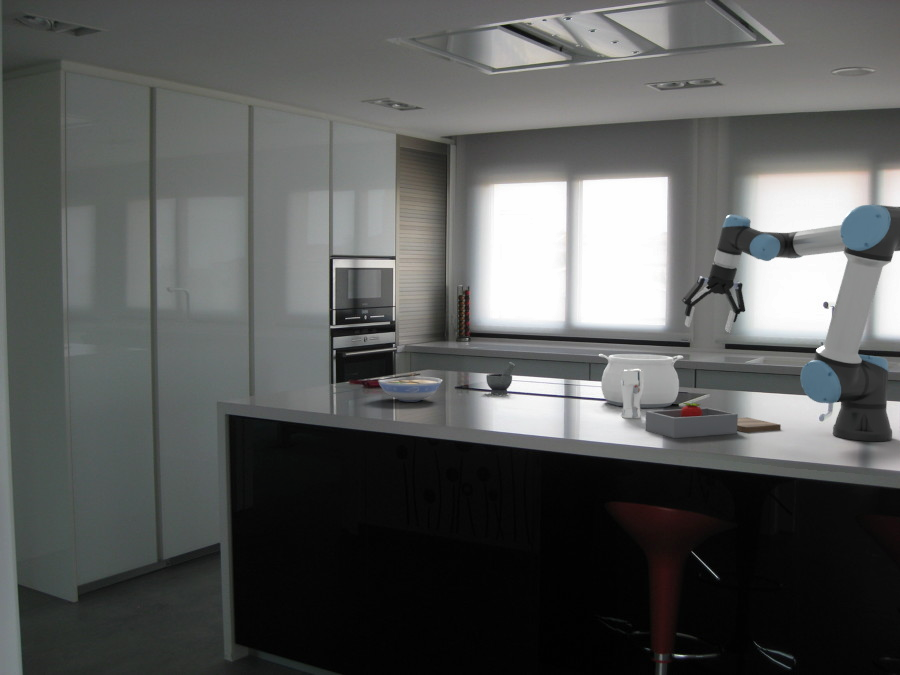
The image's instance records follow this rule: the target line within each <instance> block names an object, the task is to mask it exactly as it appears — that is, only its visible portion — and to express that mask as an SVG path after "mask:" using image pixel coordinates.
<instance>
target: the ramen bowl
mask: <svg viewBox="0 0 900 675" xmlns="http://www.w3.org/2000/svg"><path fill="white" fill-rule="evenodd" d="M371 381H372V382H378V384H379V386H380V388H381V389H382V390H383V392H384V393H386V395H388V396H390V397H392V398H395V399H397V400H398V401H400V402H403V403H416V402H421V401H422V400H424V399H426V398H429V397H431V396H433V395H434V394H435V393H436V391H438V389H439V388H440V386H441V384H442V382H443V379H441V378H439V377H438V378H437V377H431V376H421V373H419V372H418V373H417V372H414V373H407V374H401V375H395V376H388V377H387V376H386V377H381V378H378V379H373V380H371Z"/></svg>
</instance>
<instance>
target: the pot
mask: <svg viewBox="0 0 900 675" xmlns="http://www.w3.org/2000/svg"><path fill="white" fill-rule="evenodd" d="M598 357H600V358H605V359H606V360H607V365H606V367H605V369H604V370H603V373H602V376H601V392H602V395H603V397H604V399H605V400H606V402H607V403H608V404H611V405H613V406H618V407H622V408H623V399H622V392H621V375H622V369H640V370H643V392H642V397H641V403H640V409H659V408H666V407H667V408H668V407H670V406H671V405H672V404H673V403H675V401H676V399H677V398H678V394H679V390H680V388H679V387H680V380H679V376H678V372H677V371H676V369H675V367H674V364H675V363H676V362H677V361H678V360H682V359H684V356H683V355H674V356H667V355H660V354H646V353H645V354H643V353H620V354H611V355H608V356H607V355H605V354H603V353H599V354H598Z"/></svg>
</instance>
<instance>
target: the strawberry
mask: <svg viewBox="0 0 900 675" xmlns="http://www.w3.org/2000/svg"><path fill="white" fill-rule="evenodd" d="M682 404H683V405H684V406H683V407H682V408H681V417H694V416H702V410H701V408H702V407H701V405H702V404H701V403H696V402H692V403H690V402H682Z"/></svg>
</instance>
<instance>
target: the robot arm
mask: <svg viewBox="0 0 900 675" xmlns="http://www.w3.org/2000/svg"><path fill="white" fill-rule="evenodd" d="M751 223H752V222H751V219H749V217H745V216H743V215H739V214H729V215H727V216H726V217H725V219H724V222H723V224H722V227H721V232H720V237H719V240H718V243H717V247H716V249H715V254H714V257H713V262H712V264H711V267H710V271H709V276H708V277H703V276H702V275H699V276H698V278H697V280H696V282H695V283H694V284H693V286H692V287H691V288H690V289H689V291H688V292H687V293H686V294H685V296H683V298H682V299H681V301H682V303H683V304H684V305H685V306H686V307H685V312H684V315H685V316H686V317H685V320H684V325H685V326H686V327H687V328H690V327H691V323H692V320H693V315H694V313H695V309H696V307H694V306H695V305H696V304H698V303H699V302H700V301H701V300H703V299H704V298H705V297H707V296H708V295H710V294H714V295H715V294H719V295H725V297H726V299H727V301H728V302H729V305H730V307H731V309H732V310H731V309H730V310H729V314H728V317H727V319H726V323H725V327H724V330H725V331H726V332H727V333H731V330H732V327H733V323H736V322H737V319H738V316H739V315H740V314H741V313H745V311H746V306H745V301H744V296H743V283H742V282H741V281H739V280H736V281H734V280H735V279H736V278H735V277H736V274H737V271H738V268H737V267H739V264H740V260H741V257H742V254H743V253H745V254H747V255H749V256H751V257H754V258H755V259H757V260H761V261H763V262H770V261H771V260H773V259H775V258H776V259H777V258H783V259H784V258H786V259H799V258H802V257H805V256H812V255H813V256H814V255H821V254H824V255H825V254H832V253H839V252H843V254H844V256H845V257H846V259H847V261H846V266H845V269H844V273H843V276H842V280H841V283H840V286H839V290H838V293H837V297H836V301H835V304H834V309H833V313H832V315H831V320H830V322H829V325H828V329H827V333H826V337H825V340H824V343H823V345H821V346H820V347H817V349H816V350H815V352H814V353H815V354H814V356H813V360H812V359H811V360H810V361H808V362H807V363H805V365H803V367H802V368H801V370H800V377H799V378H800V385H801V388H802V389H803V391H804V393H805V395H806V396H807V397H808V398H809V399H810V400H812V401H813V402H816V403H820V404H821V403H822V404H834V403H840V408H839V412H838V413H837V416H836V420H835V423H834V425H833V426H832V435H833V436H835V437H838V438H841V439H847V440H852V441H864V442H885V441H892V439H893V429H892V428H891V425H890V424H891V423H890V420H889V416H888V413H887V404H888V402H887V400H888V385H889V384H888V383H889V374H890V371H889V362H888V360H887V358H885V357H881V356H874V355H865V354H859V349H860V346H861V343H862V339H863V336H864V333H865V329H866V325H867V322H868V319H869V315H870V311H871V309H872V305H873V302H874V298H875V295H876V291H877V288H878V285H879V281H880V278H881V274H882V272H883V268H884V267H885V266H886V265H888V264H889V263H891V262H892V260H893V256H894V253H895V252H900V206H891V205H883V204H882V205H880V204H873V203H872V204H865V205H860V206H857V207H855V208H853V209H852V210H850V211H849V212H848V213H847V214H846V215H845V217H844V219H842V222H841V224H839V225H833V226H826V227H819V228H811V229H806V230H805V229H804V230H799V231H792V232H776V231H775V232H774V231H773V232H770V231H761V230H758V229H756V228H755V229H754V228H752V227H751ZM706 284H707V285H706ZM704 285H705V286H704ZM703 286H704V287H703ZM702 287H703V289H702V290H700V289H701V288H702ZM732 288H734V292H735V296H736V301H737V303H736V301H735V299H734V297H733V296H732V292H731V289H732Z"/></svg>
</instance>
